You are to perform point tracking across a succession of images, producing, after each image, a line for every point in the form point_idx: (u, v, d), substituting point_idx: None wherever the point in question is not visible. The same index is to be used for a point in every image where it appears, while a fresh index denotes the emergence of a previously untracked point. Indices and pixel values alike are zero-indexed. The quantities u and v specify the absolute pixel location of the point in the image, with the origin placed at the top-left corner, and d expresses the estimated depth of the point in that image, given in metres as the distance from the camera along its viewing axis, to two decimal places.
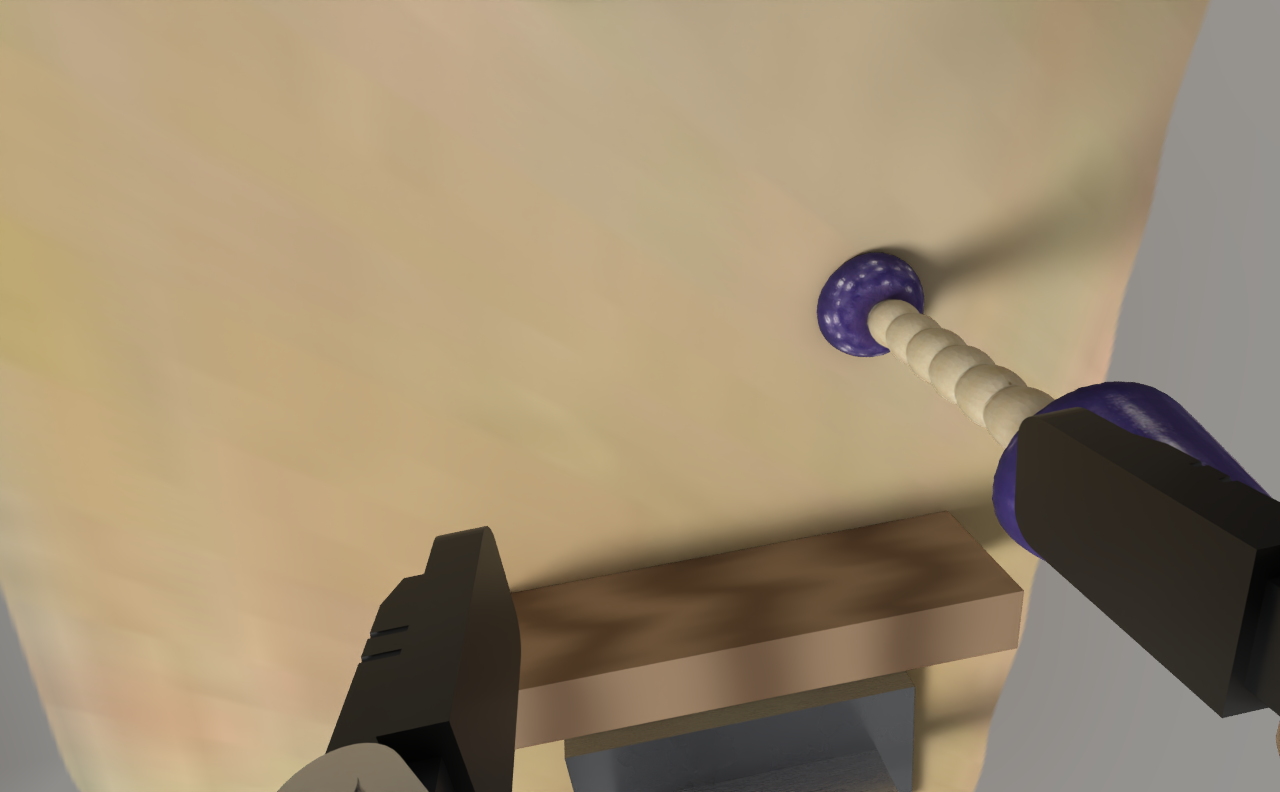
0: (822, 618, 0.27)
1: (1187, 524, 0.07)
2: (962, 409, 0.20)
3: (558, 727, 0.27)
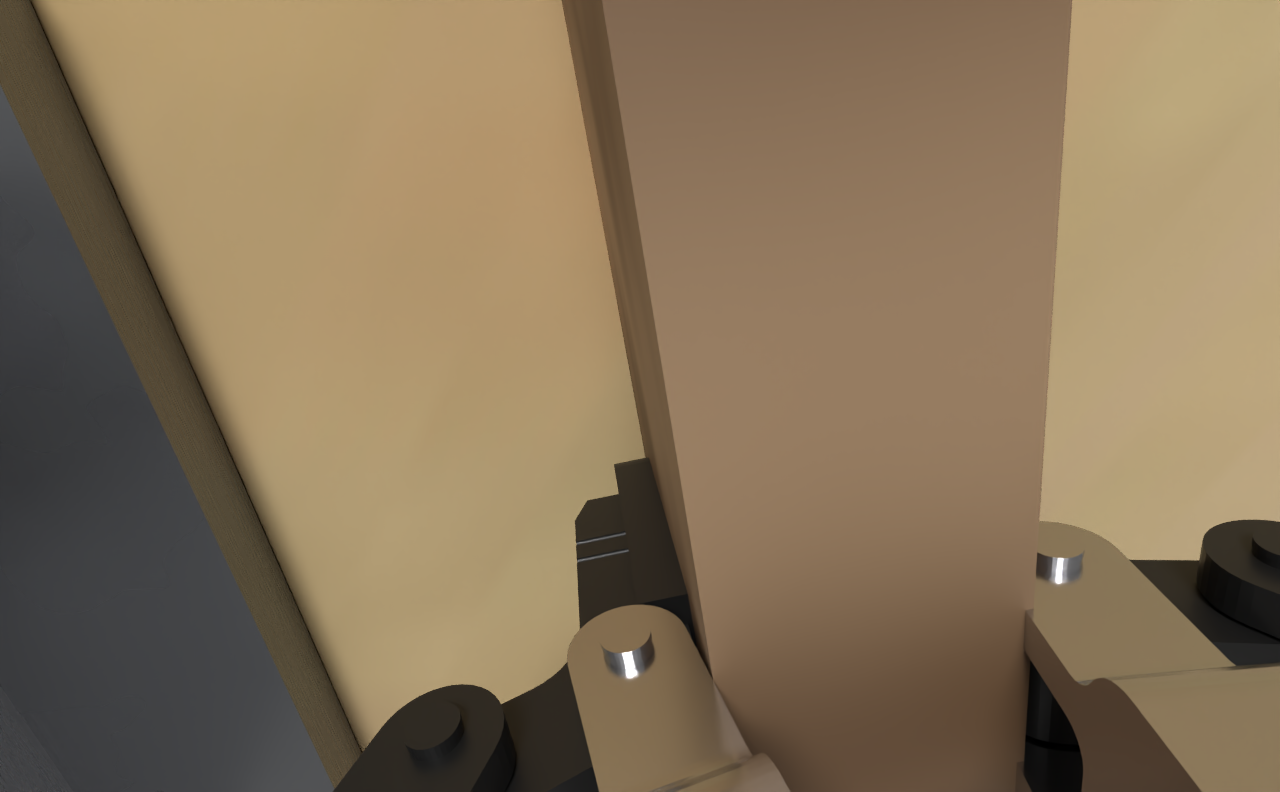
0: None
1: None
2: None
3: None
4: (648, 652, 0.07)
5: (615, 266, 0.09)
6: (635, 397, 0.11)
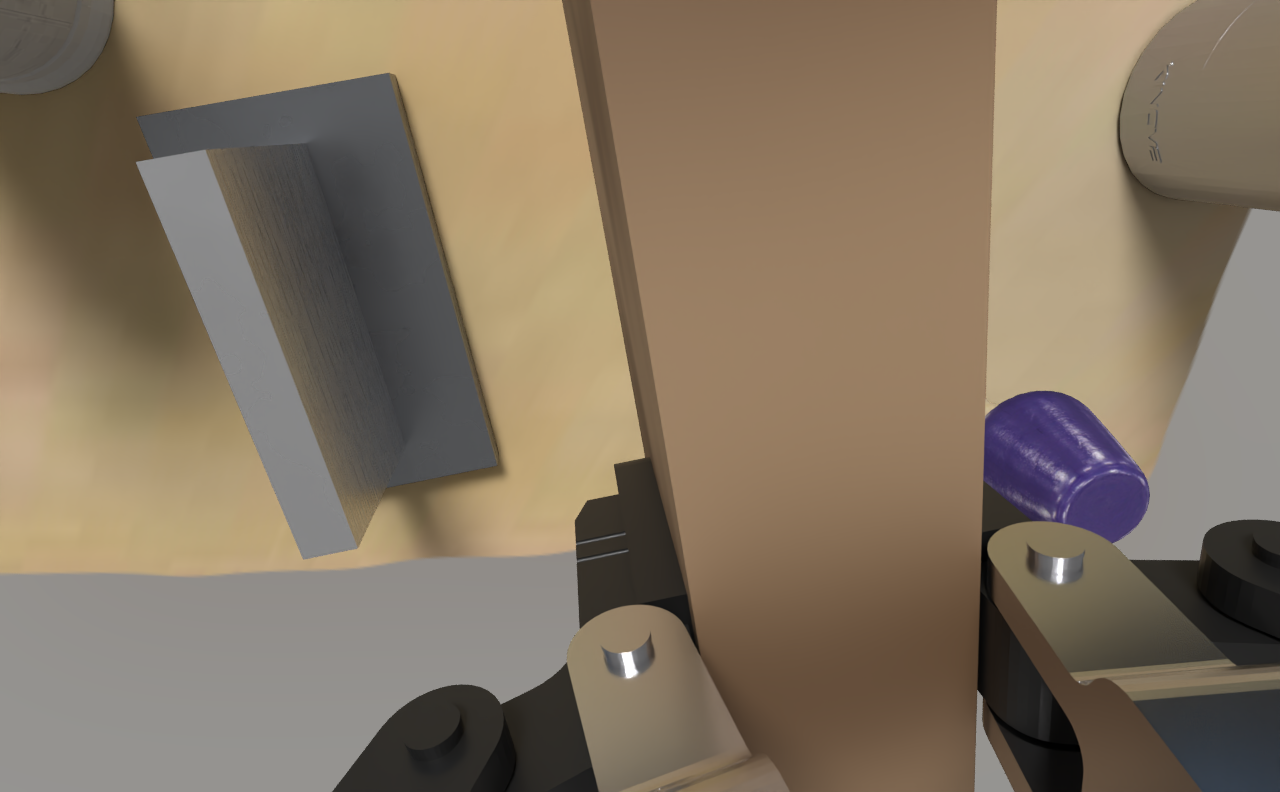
0: None
1: None
2: None
3: None
4: (648, 652, 0.07)
5: (612, 254, 0.10)
6: (631, 378, 0.12)
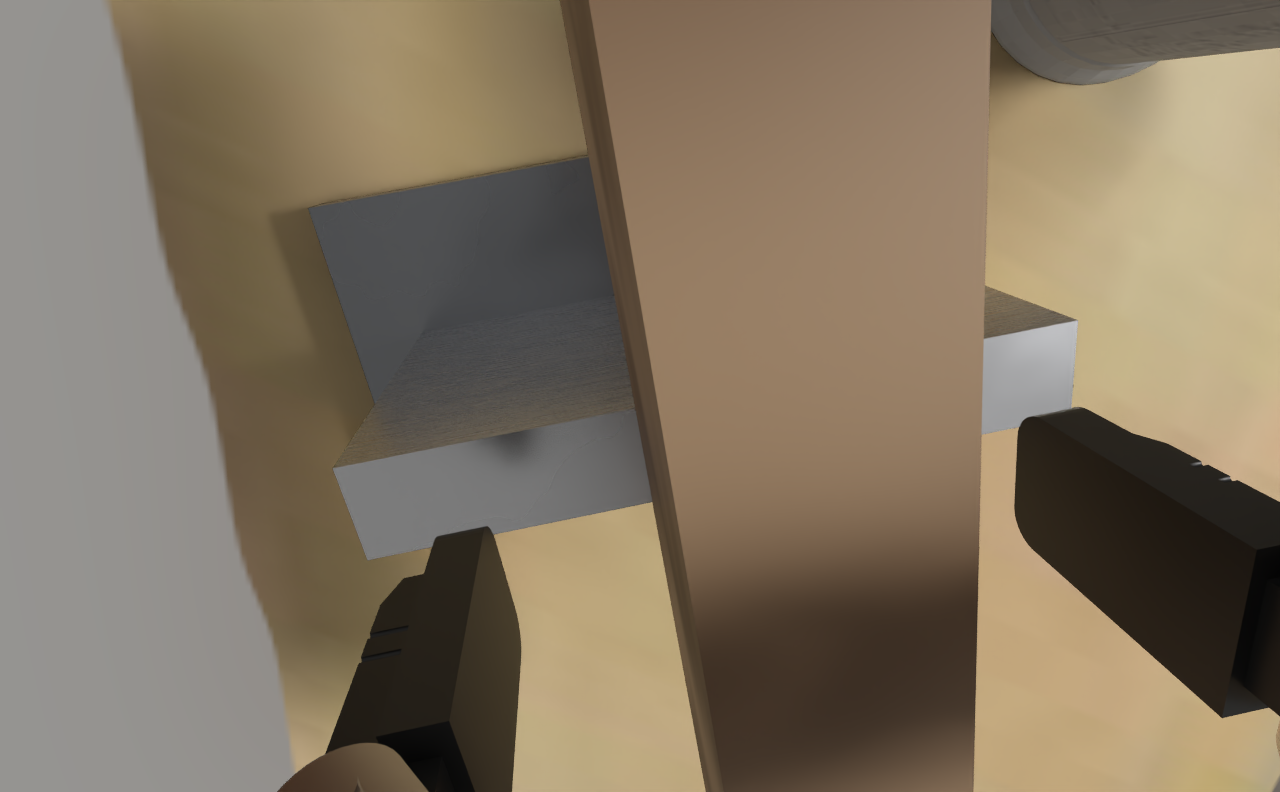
0: None
1: (1187, 524, 0.07)
2: None
3: None
4: None
5: (608, 242, 0.10)
6: (628, 369, 0.12)
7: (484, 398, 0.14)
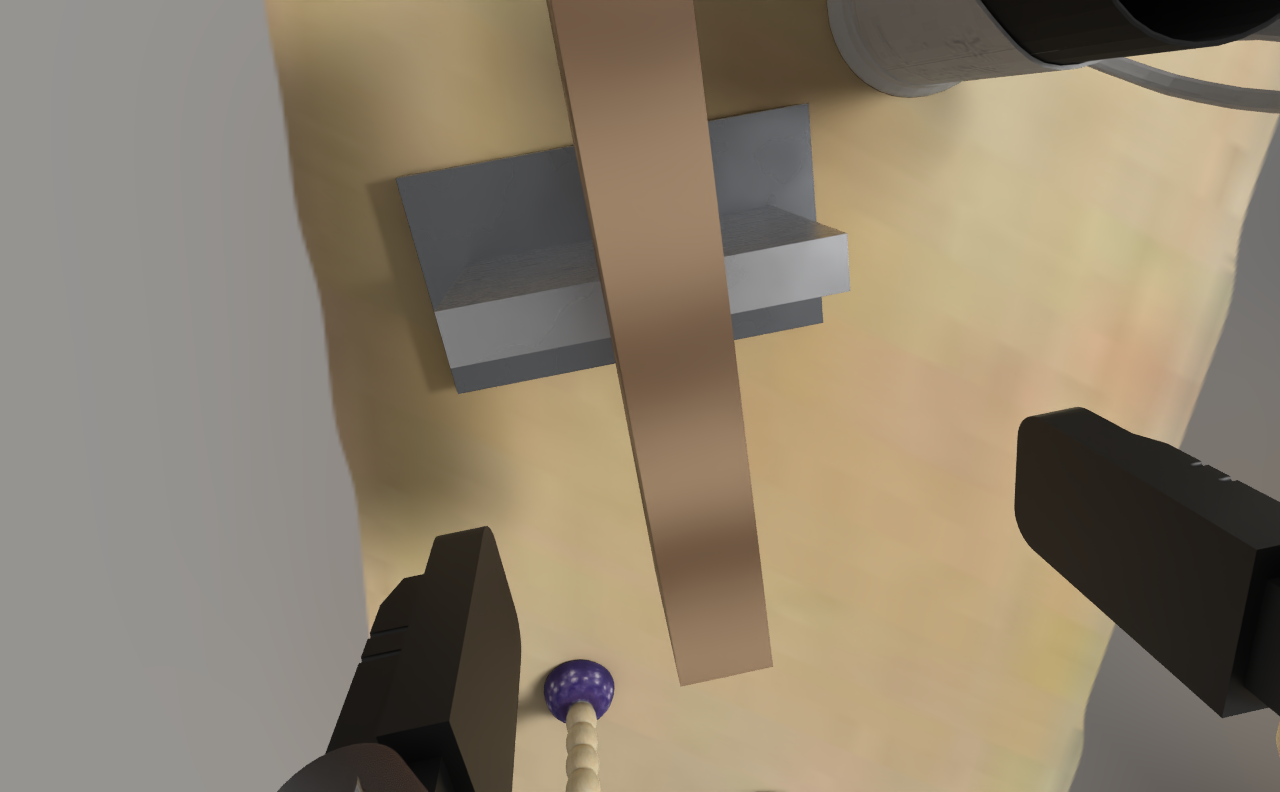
0: None
1: (1187, 524, 0.07)
2: None
3: (586, 8, 0.15)
4: None
5: (582, 182, 0.20)
6: (595, 255, 0.22)
7: (514, 283, 0.25)
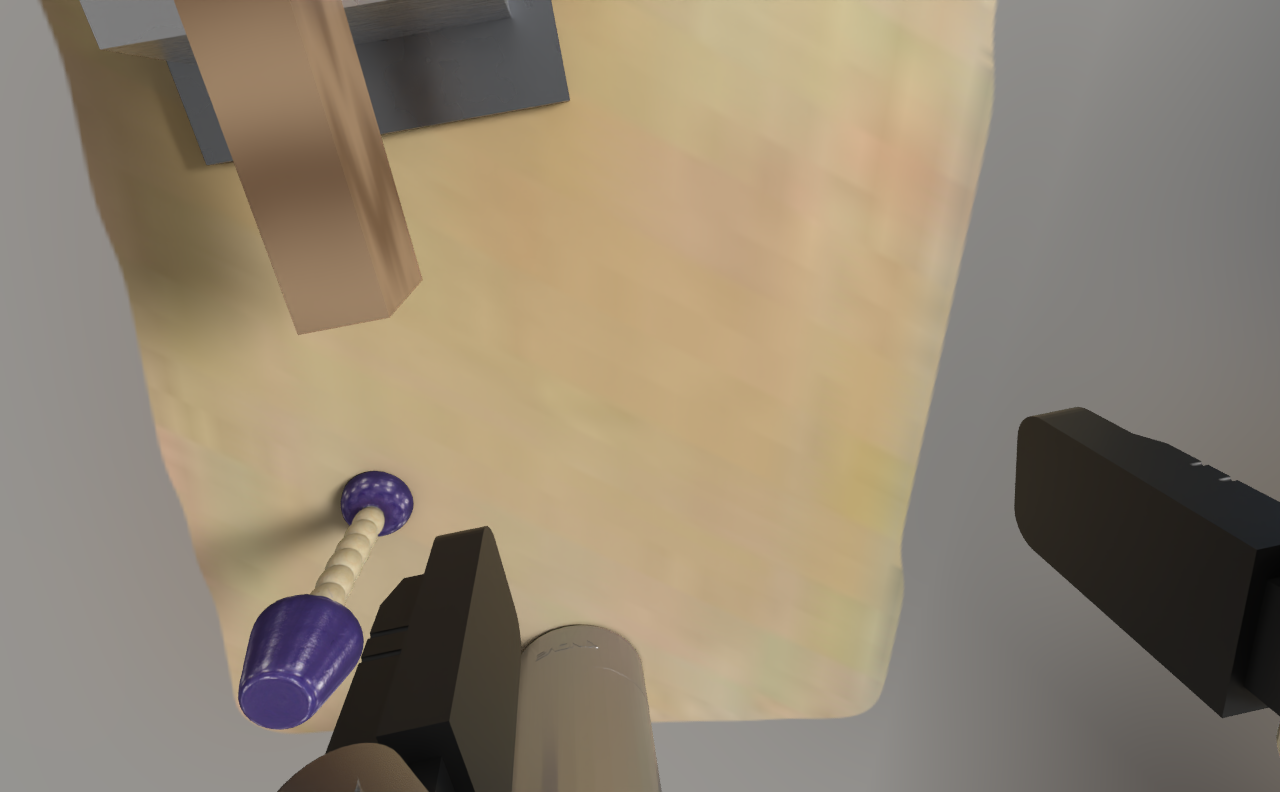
0: (311, 51, 0.20)
1: (1187, 524, 0.07)
2: (350, 576, 0.34)
3: None
4: None
5: None
6: None
7: None
